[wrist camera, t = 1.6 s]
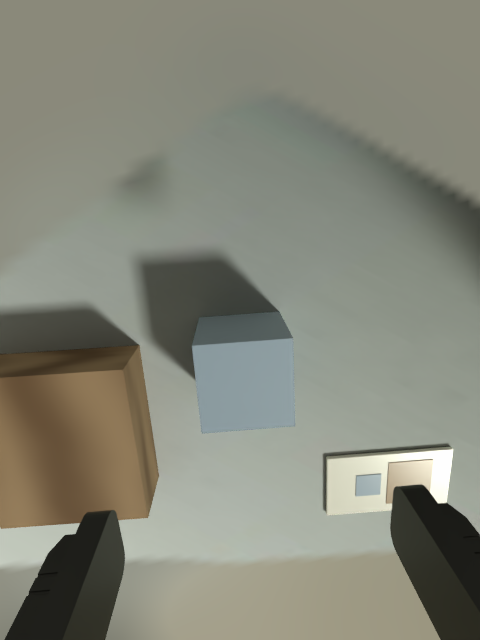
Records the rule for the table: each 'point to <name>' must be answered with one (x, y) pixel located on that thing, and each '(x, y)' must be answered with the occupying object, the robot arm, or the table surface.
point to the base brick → (74, 436)
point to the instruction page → (384, 478)
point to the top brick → (244, 372)
